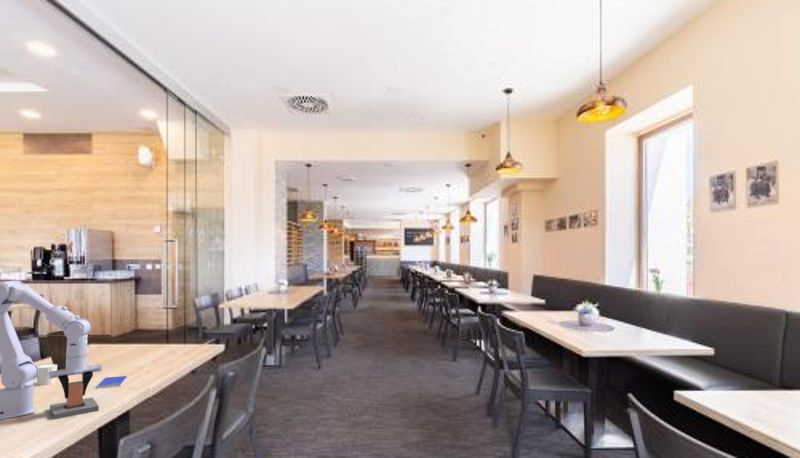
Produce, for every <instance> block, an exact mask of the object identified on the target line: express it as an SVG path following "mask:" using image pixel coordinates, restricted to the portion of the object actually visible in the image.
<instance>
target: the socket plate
mask: <svg viewBox="0 0 800 458" xmlns="http://www.w3.org/2000/svg"><path fill="white" fill-rule="evenodd" d="M99 409H100V408H99V404H98V403H97V401H96V400H95V398H93V397H92V396H91V397H88V398H83V404H82V405H76V406H71V407H68V406H67V404H66V401H65V402H60V403H59V402H58V403H53V404H49V411H50V413H51V415H52V416H51V417H52V419H53V420H58V419H62V418H68V417H72V416H76V415H77V416H78V415H82V414H88V413H92V412H97V411H99Z"/></svg>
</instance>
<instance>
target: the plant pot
mask: <svg viewBox="0 0 800 458" xmlns="http://www.w3.org/2000/svg"><path fill="white" fill-rule="evenodd" d="M46 340H47V341H46V342H47V347H48V353H49V356H50V359H51V363H52V364H57V370H62V369H66V351H67V337H66V336H65V334H64V330H56V331H51V332H47V333H46Z"/></svg>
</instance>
